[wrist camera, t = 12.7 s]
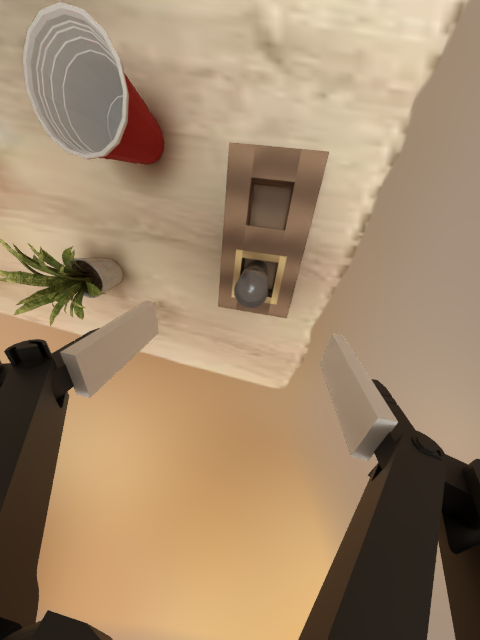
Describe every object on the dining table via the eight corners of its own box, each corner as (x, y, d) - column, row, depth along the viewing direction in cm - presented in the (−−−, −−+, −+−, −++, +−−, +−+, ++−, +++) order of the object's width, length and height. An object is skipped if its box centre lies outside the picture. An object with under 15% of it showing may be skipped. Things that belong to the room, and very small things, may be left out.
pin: (246, 258, 33) (235, 272, 22) (269, 261, 33) (270, 277, 21) (244, 281, 35) (232, 305, 23) (266, 283, 35) (265, 309, 23)
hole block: (236, 155, 28) (229, 141, 23) (320, 164, 27) (329, 151, 22) (224, 297, 38) (217, 306, 33) (285, 307, 37) (286, 318, 32)
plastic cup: (178, 87, 26) (110, -11, 15) (182, 184, 31) (133, 162, 20) (104, 85, 27) (-7, -8, 16) (119, 179, 32) (41, 155, 21)
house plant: (143, 236, 35) (52, 243, 21) (152, 305, 41) (87, 348, 27) (74, 228, 37) (-56, 230, 22) (93, 296, 43) (1, 332, 28)
